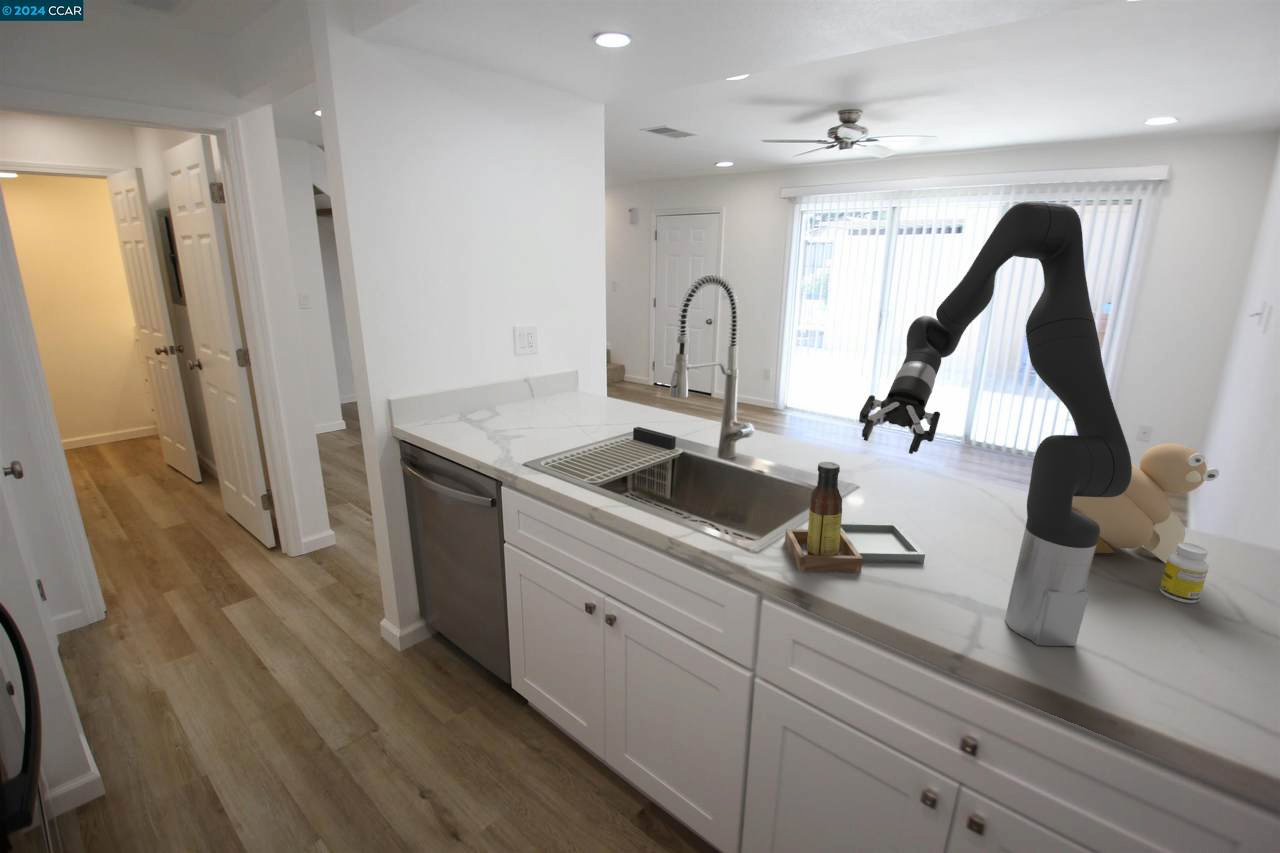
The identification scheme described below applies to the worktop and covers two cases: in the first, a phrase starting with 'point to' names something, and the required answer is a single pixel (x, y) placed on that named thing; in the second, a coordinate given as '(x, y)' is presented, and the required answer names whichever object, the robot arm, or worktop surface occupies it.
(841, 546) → the wooden frame
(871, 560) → the tray
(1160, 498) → the chick figurine
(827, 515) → the sauce bottle
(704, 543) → the worktop surface
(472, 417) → the worktop surface
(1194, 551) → the supplement bottle
